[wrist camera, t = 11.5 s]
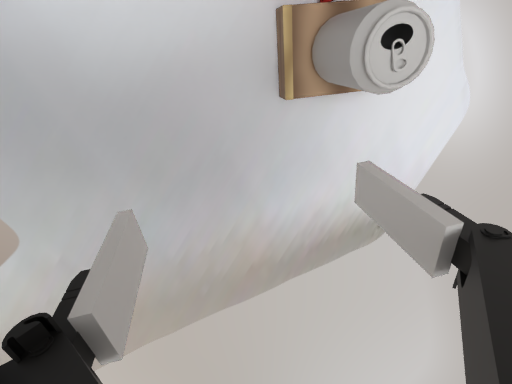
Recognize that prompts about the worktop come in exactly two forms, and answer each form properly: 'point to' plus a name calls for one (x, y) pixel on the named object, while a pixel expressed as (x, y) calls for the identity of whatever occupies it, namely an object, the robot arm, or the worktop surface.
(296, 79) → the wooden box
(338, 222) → the worktop surface
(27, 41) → the worktop surface
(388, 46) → the can
